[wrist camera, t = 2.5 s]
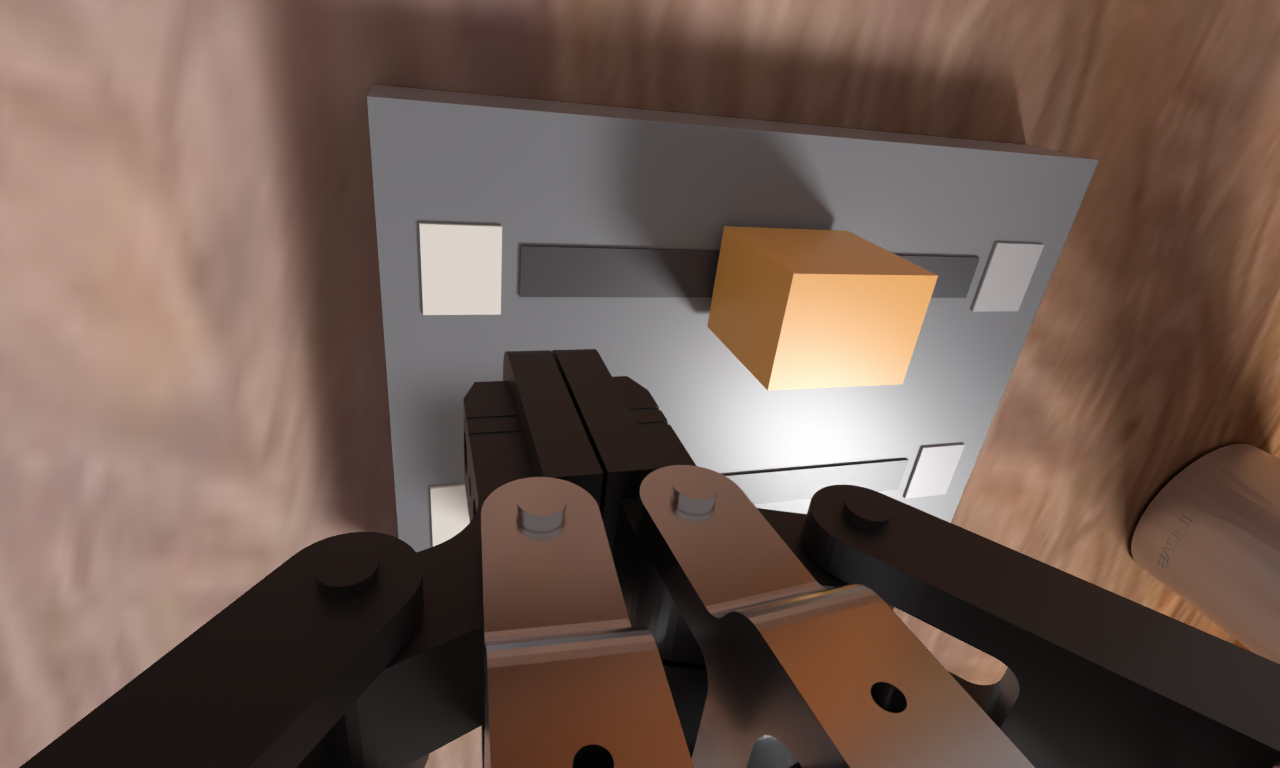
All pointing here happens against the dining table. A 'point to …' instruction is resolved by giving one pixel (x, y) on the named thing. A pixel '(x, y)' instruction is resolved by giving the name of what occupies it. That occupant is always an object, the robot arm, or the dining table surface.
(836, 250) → the slider
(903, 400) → the switch panel
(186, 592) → the dining table surface
